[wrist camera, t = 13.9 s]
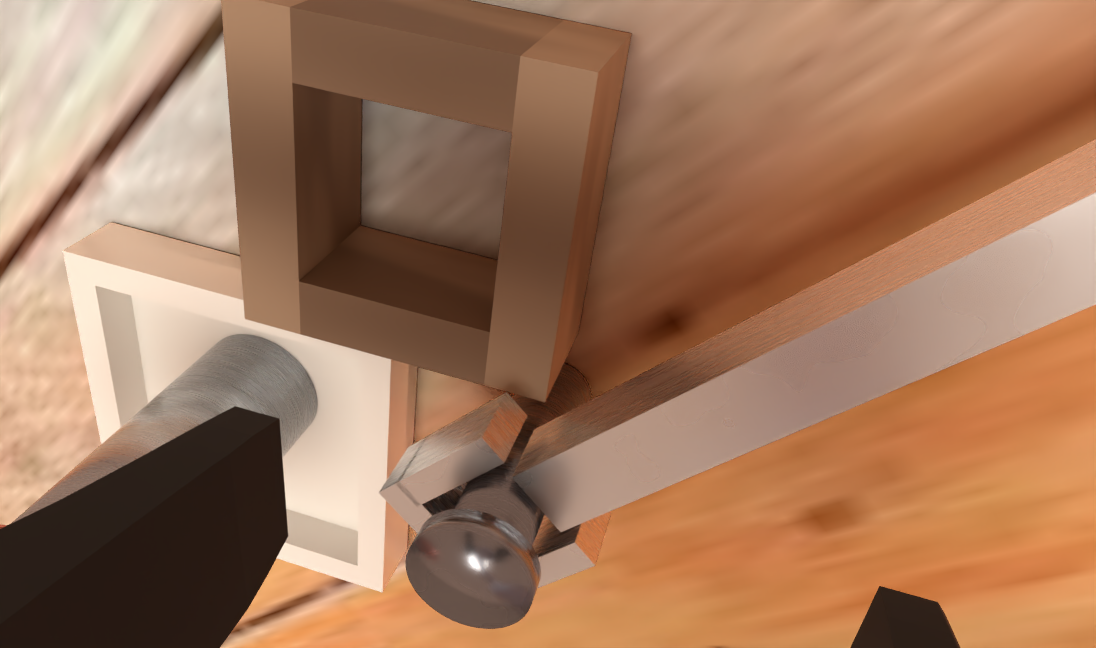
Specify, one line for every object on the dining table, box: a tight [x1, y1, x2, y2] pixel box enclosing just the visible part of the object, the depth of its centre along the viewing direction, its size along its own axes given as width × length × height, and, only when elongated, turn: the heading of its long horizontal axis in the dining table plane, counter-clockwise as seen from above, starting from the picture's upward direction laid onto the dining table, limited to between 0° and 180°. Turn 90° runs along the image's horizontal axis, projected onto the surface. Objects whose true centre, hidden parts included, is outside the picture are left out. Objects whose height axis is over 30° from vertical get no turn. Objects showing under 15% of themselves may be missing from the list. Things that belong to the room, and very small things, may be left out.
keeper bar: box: [379, 139, 1096, 588], centre depth 15 cm, size 18×4×2 cm, turn 130°
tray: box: [63, 222, 418, 592], centre depth 24 cm, size 9×9×2 cm
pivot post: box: [406, 363, 591, 629], centre depth 20 cm, size 3×3×7 cm
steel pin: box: [0, 334, 318, 529], centre depth 21 cm, size 4×4×9 cm
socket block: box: [221, 0, 632, 402], centre depth 19 cm, size 7×7×3 cm
